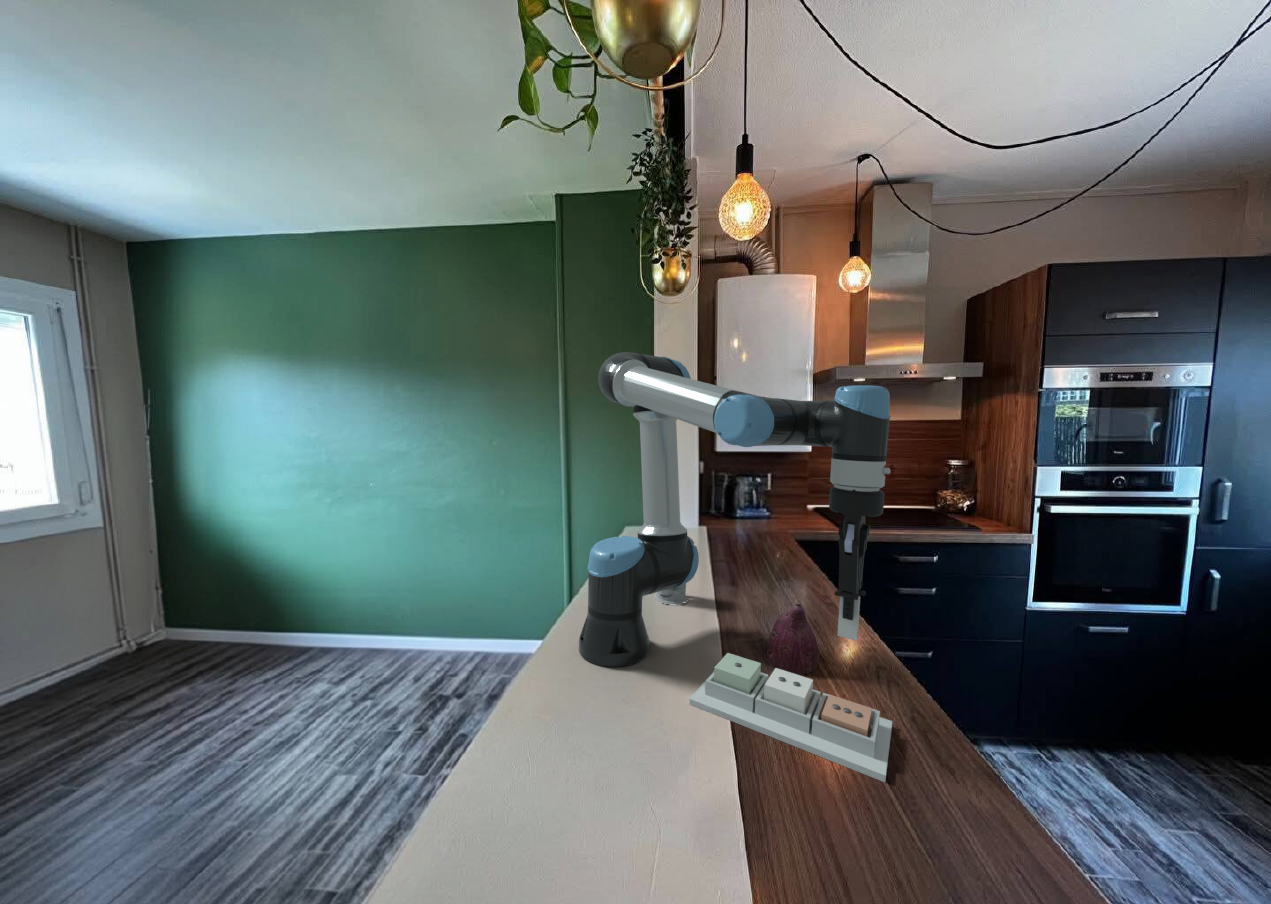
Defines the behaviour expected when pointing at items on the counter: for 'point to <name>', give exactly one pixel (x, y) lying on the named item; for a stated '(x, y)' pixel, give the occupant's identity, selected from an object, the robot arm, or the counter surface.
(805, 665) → the vegetable
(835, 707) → the key three
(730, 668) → the key one
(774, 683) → the key two
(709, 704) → the console
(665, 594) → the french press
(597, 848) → the counter surface
